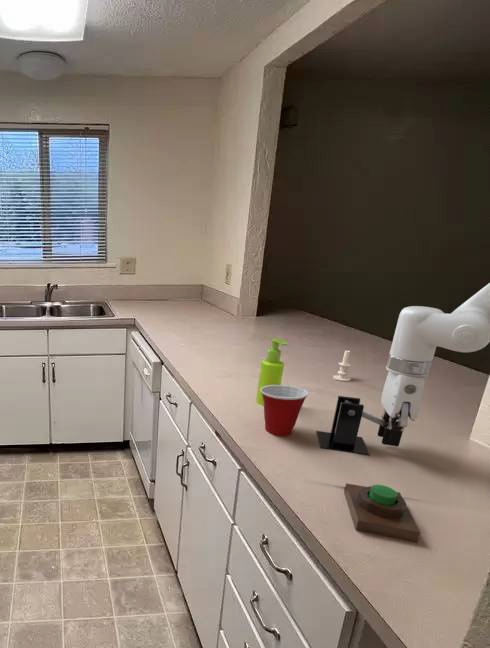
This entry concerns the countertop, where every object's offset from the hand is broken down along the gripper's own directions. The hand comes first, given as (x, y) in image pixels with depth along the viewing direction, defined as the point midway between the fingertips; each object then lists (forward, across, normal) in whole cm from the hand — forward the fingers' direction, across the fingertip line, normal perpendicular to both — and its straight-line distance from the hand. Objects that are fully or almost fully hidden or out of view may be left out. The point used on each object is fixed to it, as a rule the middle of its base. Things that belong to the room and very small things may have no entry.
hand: (387, 440), depth 99 cm
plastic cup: (+4, +2, +23) cm, 23 cm away
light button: (0, -27, +7) cm, 28 cm away
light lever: (-3, 0, +5) cm, 6 cm away
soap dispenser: (+4, +20, +25) cm, 32 cm away
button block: (+3, -27, +7) cm, 28 cm away
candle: (+4, +53, +1) cm, 53 cm away
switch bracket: (+3, 0, +9) cm, 9 cm away
